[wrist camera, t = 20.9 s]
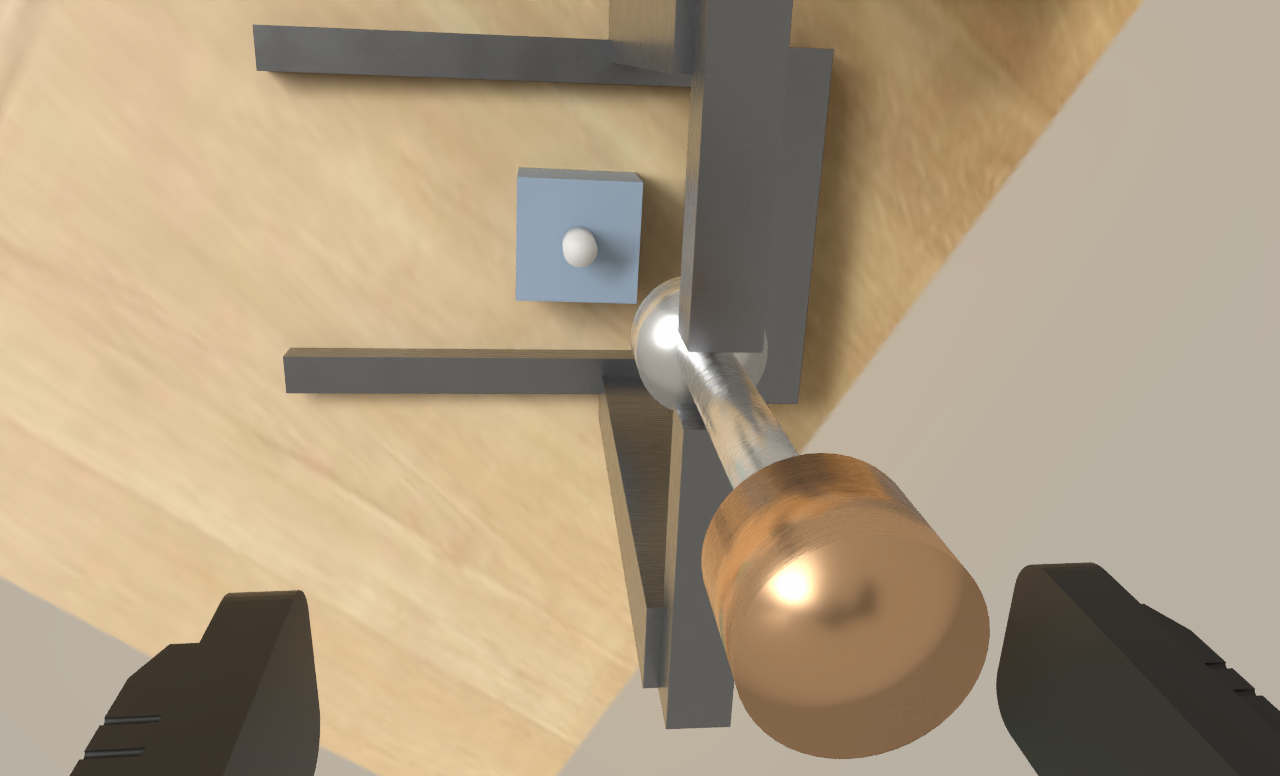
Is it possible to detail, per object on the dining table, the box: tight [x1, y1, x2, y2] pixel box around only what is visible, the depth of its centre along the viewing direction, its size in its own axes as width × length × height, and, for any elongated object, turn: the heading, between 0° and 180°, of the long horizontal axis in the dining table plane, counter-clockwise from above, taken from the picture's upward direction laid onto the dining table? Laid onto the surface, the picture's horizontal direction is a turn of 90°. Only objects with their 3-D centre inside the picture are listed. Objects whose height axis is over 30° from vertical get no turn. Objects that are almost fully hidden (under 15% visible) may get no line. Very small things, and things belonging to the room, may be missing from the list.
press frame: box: [253, 0, 834, 729], centre depth 37 cm, size 22×27×26 cm
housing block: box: [516, 167, 643, 304], centre depth 47 cm, size 6×6×6 cm
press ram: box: [631, 276, 990, 759], centre depth 22 cm, size 4×4×17 cm
